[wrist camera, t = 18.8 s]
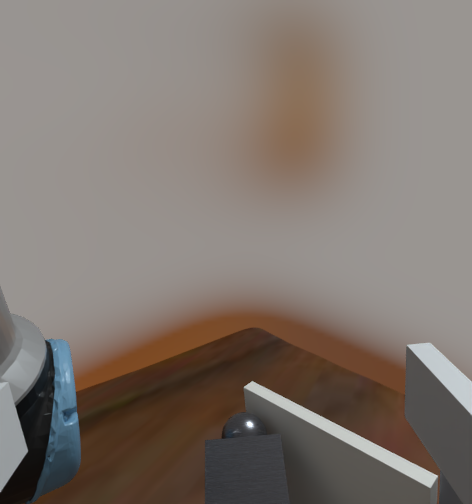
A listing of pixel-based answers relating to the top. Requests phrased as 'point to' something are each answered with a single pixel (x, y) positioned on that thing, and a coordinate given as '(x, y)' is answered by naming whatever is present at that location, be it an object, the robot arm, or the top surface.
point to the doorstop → (245, 464)
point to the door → (336, 458)
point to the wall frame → (447, 492)
